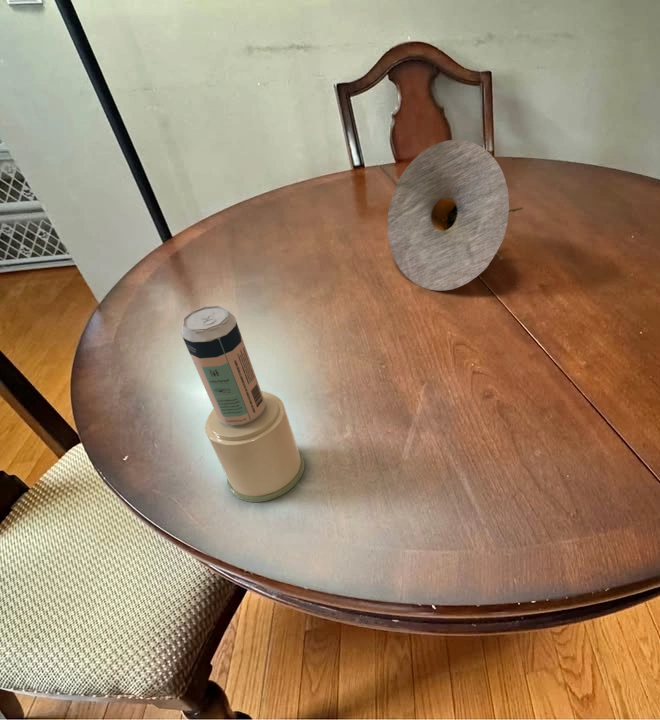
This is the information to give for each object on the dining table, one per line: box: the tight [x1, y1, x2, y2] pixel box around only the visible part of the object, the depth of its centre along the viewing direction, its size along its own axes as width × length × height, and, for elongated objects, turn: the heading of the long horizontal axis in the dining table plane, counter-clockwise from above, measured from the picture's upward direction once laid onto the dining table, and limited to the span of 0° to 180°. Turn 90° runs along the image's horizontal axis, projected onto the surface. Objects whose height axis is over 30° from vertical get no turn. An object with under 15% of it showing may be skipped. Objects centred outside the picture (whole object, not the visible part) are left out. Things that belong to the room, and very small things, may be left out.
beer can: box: [180, 305, 265, 425], centre depth 54 cm, size 5×5×12 cm
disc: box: [387, 139, 524, 292], centre depth 98 cm, size 25×18×25 cm
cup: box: [204, 390, 305, 503], centre depth 61 cm, size 8×8×10 cm
